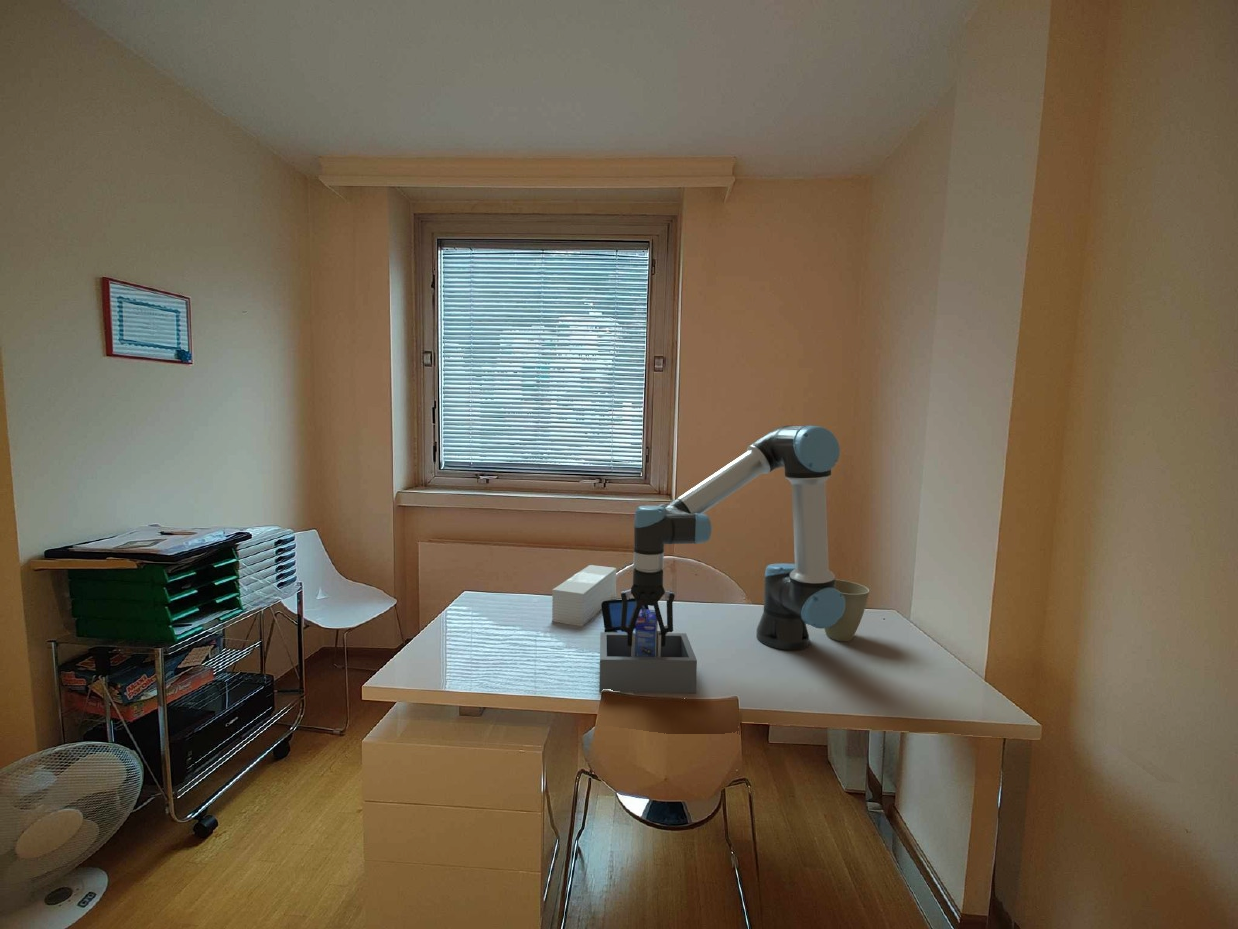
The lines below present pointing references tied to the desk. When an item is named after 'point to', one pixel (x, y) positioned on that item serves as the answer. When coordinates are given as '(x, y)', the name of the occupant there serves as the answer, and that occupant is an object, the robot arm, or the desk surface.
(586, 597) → the stack of papers
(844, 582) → the plant pot
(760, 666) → the desk surface
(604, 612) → the handheld game console
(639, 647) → the ink cartridge box
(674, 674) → the collection bin
